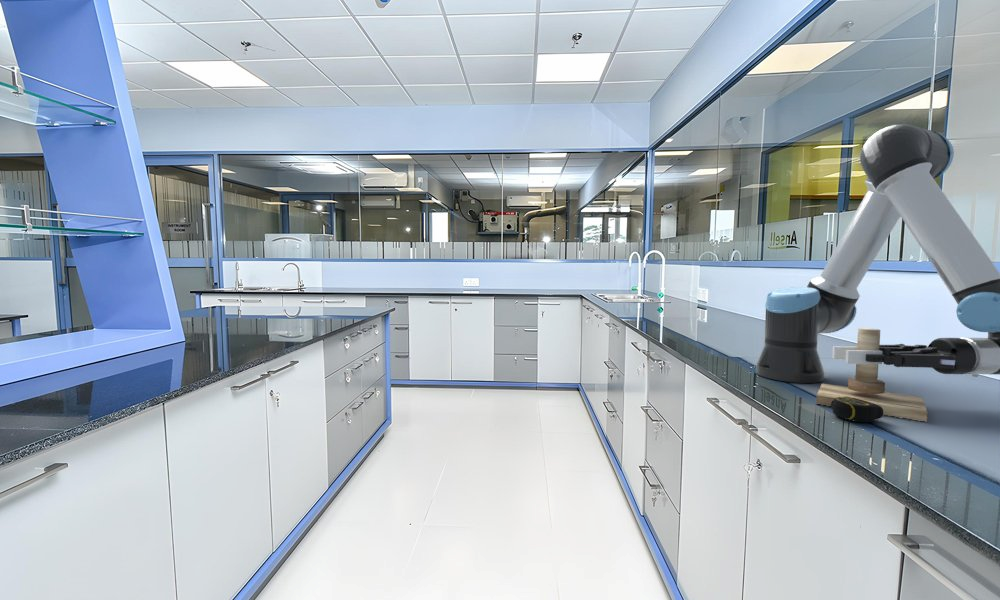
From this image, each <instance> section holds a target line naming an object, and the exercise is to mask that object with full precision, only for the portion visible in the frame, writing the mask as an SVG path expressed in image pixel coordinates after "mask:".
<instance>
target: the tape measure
mask: <svg viewBox="0 0 1000 600" xmlns="http://www.w3.org/2000/svg"><path fill="white" fill-rule="evenodd" d="M831 409H832V413H833V414H834V415H835V416H837V417H840V418H842V419H844V418H845V419H844V420H847V419H849V420H848V421H850V420H854V421H855V422H863V423H870V422H873V421H876V420H879V419H881V418H882V417H883V416H884V415H883V408H882V407H881V406H879V405H876V404H874V403H871V402H867V401H864V400H860V399H855V398H852V397H847V396H846V397H836V398H835V399H834V400H833V401H832V402H831Z"/></svg>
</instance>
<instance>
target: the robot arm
mask: <svg viewBox="0 0 1000 600" xmlns="http://www.w3.org/2000/svg"><path fill="white" fill-rule="evenodd" d="M954 153H955V152H954V146H953V145H952V142H951V141H950V140H949V139H948V138H947V137H946V136H944V135H943V134H941V133H940V132H937V131H935V130H931V129H926V128H921V127H919V126H916V125H913V124H907V123H906V124H905V123H904V124H902V123H899V124H892V125H889V126H886V127H884V128H881V129H879V130H878V131H876V132H875V133H873V134H872V135H871V136H870V137H869V138H868V139H867V140H866V142H865V143H864V144H863V146H862V149H861V151H860V156H859V161H860V165H861V168H862V170H863V171H864V173H865V175H866V179H865V180H864V183H865V185H866V187H867V191H866V193H865V195H864V196H863V199H862V201H861V202H860V203H859V205H858V207H857V209H856V211H855V212H854V215H853V216H852V218H851V220H850V222H849V223H848V226H847V227H846V229H845V231H844V233H843V234H842V236H841V238H840V240H839V242H838V243H837V245H836V247H835V248H834V250H833V252H832V254H831V256H830V258H829V259H828V261H827V263H826V265H825V267H824V268H823V270H822V272H821V274H820V275H819V276H816V277H813V278H811V279H810V281H809V282H808V284H807V286H806V287H803V286H795V287H793V286H792V287H782V288H776V289H773V290H771V291H769V292H768V293H767V295H766V302H765V305H764V307H765V322H764V323H765V324H764V325H765V327H764V346H763V349H762V351H761V353H760V356H759V358H758V360H757V363H756V366H755V373H756V374H757V375H758V376H760V377H763V378H766V379H770V380H775V381H780V382H785V383H786V382H787V383H797V384H817V383H821V382H823V381H824V380H825V371H824V366H823V365H822V361H821V358H820V355H819V353H818V336H819V335H820V334H831V333H836V332H839V331H840V330H843V329H845V328H847V327H848V326H850V325H851V324H852V322H853V321H854V320H855V317H856V316H857V315H856V314H857V307H856V305H857V304H856V303H858V300H859V299H860V297H861V296H860V293H859V290H858V288H859V285H860V284H861V282H862V281H863V278H864V277H865V276H866V274H867V273H868V271H869V269H870V267H871V266H872V264H873V262H874V261H875V259H876V257H877V256H878V255H879V252H880V251H881V249H882V247H883V246H884V244H885V243H886V241H887V240H888V238H889V236H890V234H891V232H892V231H893V229H894V228H895V226H896V225H897V223H898V221H899V220H900V218H901V219H902V221H903V222H904V224H905V225H906V227H907V229H908V231H909V232H910V233H911V235H913V236H912V237H913V238H914V239H915V240H916V242H917V244H918V246H919V247H920V248H921V250H922V251H923V253H924V255H925V256H926V258H927V260H929V262H930V264H931V265H932V267H933V269H935V271H936V273H937V274H938V276H939V277H940V279H941V281H942V282H943V283H944V285H945V286H946V288H947V290H948V291H949V293H950V294H951V296H952V298H953V299H954V301H955V303H956V304H957V306H956V309H955V310H956V317H957V320H958V321H959V322H960V323H961V324H962V325H963V326H964V327H966V328H968V329H969V330H972V331H975V332H979V333H987V337H939V338H938V337H937V338H935V339H934V340H932V341H931V342H930V343H929V344H928V345H926V344H915V345H907V344H906V345H905V344H904V343H896V344H880V347H879V350H857V346H850V345H849V346H838V345H837V346H832V355H831V359H833V360H845V364H848V365H849V364H851V365H853V364H854V365H856V364H878V365H882V364H883V365H886V366H892V365H893V367H896V368H931V369H933V370H935V372H937V373H940V374H944V375H971V376H972V377H975V378H978V377H979V376H980V375H998V376H999V375H1000V271H999V269H998V268H997V267H996V265H995V264H994V262H993V261H992V260H991V258H990V257H989V255H988V254H987V252H986V251H985V250H984V248H983V247H982V246H981V244H980V243H979V241H978V240H977V239H976V237H975V236H974V234H973V233H972V231H971V230H970V229H969V227H968V225H967V224H966V222H965V221H964V220H963V219H962V217H961V216H960V214H959V213H958V211H957V210H956V209H955V207H954V206H953V204H952V203H951V201H950V200H949V199H948V197H947V196H946V194H945V192H943V190H942V189H941V187H940V186H939V184H938V183H937V182H936V179H938V178H939V177H941V176H942V175H943V174H945V173H946V172H947V171H948V169H949V168H950V166H952V165H951V164H952V162H953V159H954V156H955V155H954Z"/></svg>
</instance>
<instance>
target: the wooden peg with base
mask: <svg viewBox="0 0 1000 600" xmlns="http://www.w3.org/2000/svg"><path fill="white" fill-rule="evenodd" d="M856 345H857V346H856V347H857V350H879V347H880V345H881V329H878V328H869V327H867V328H866V327H861V328H860V327H859V328H857V343H856ZM878 375H879V364H855V376H850V377H848V379H847V387H848V388H849V389H851V390H853V391H857V392H862V393H870V394H882V393H884V392H886V391H885V390H886V389H885V386H886V382H885V381H883V380H880V379H879V378H878V377H879V376H878Z"/></svg>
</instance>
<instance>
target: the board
mask: <svg viewBox="0 0 1000 600" xmlns="http://www.w3.org/2000/svg"><path fill="white" fill-rule="evenodd" d="M846 396H847V397H852V398H855V399H860V400H864V401H867V402H871V403H874V404H876V405H879V406H881V407H882V408H883V416H884V415H888V416H887V417H890V416H895V417H894V418H896V417H902V418H907V419H906V420H908V419H914V420H919V421H918V422H920V421H925V422H924V423H928V409H927V407H926V404H925V401H924V398H923V397H922V396H916V395H910V394H909V395H908V394H903V393H893V392H888V391H884V393H882V394H870V393H862V392H857V391H853V390H851V389H849V388H848V386H844V385H836V384H829V383H821V385H820V387H819V389H818V392H817V393H816V401H815V404H816V405H817V404H821V405H820V406H823V405H826V406H825V407H829V406H831V402H832V401H833V400H834V399H835V398H836V397H846ZM902 418H901V419H902ZM914 420H913V421H914Z"/></svg>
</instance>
